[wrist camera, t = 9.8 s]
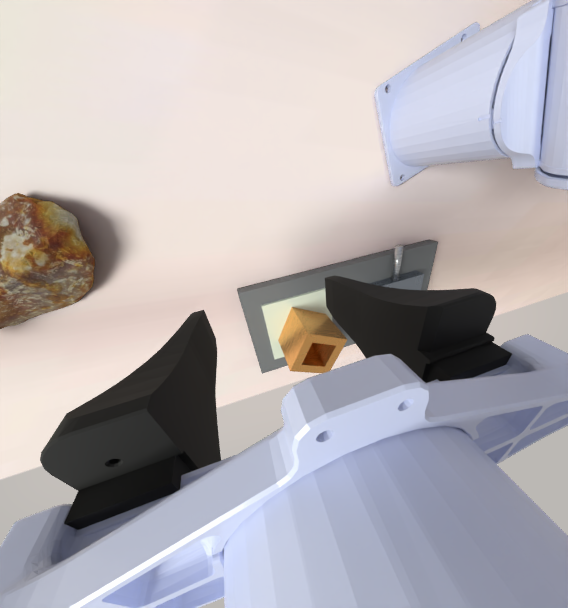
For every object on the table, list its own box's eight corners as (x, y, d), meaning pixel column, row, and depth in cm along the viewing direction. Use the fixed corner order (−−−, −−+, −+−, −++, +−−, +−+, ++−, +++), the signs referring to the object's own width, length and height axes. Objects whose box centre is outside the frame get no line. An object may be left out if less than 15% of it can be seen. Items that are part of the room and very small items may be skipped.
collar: (325, 313, 25) (347, 339, 21) (311, 344, 27) (328, 373, 23) (291, 307, 24) (307, 333, 19) (278, 340, 25) (290, 371, 21)
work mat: (429, 239, 26) (440, 242, 25) (413, 318, 32) (421, 323, 31) (237, 288, 22) (238, 295, 21) (260, 366, 29) (262, 375, 27)
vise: (421, 237, 24) (457, 247, 21) (408, 310, 29) (434, 327, 26) (366, 251, 23) (394, 264, 20) (362, 324, 28) (384, 344, 25)
